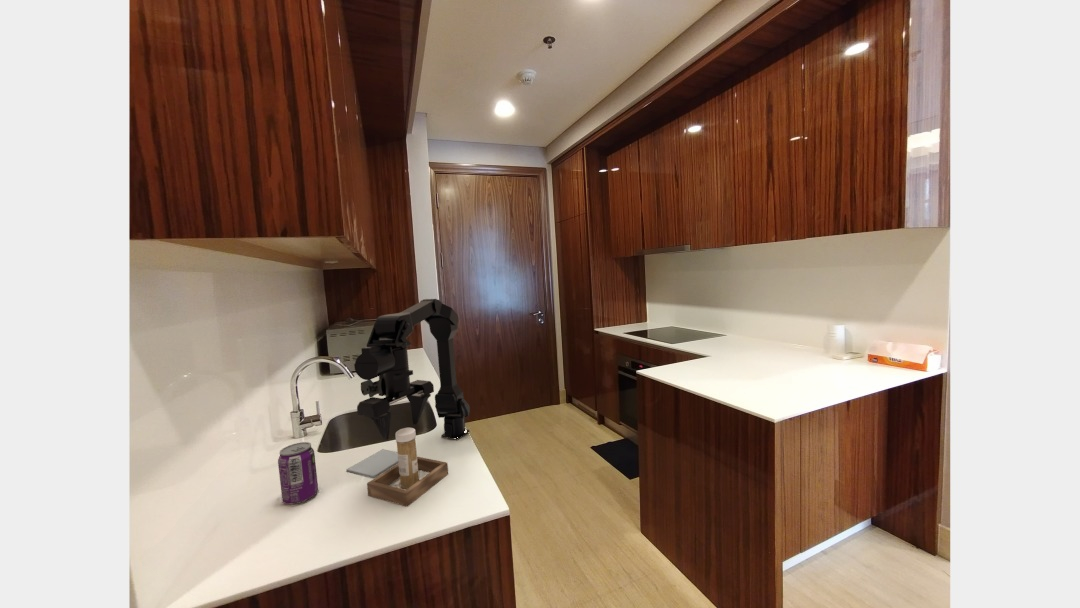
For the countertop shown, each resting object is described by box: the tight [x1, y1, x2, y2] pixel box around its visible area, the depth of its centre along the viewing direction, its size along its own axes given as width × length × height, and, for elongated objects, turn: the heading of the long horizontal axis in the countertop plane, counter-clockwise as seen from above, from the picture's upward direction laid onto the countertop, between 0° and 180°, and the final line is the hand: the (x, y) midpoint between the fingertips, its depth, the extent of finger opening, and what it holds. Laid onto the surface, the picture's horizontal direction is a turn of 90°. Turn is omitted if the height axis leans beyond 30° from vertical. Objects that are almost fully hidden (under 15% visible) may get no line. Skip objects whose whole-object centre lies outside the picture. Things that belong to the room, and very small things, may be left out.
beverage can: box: [277, 441, 319, 505], centre depth 86 cm, size 7×7×12 cm
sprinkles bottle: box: [395, 427, 420, 490], centre depth 89 cm, size 5×5×14 cm
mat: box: [346, 448, 398, 479], centre depth 101 cm, size 12×10×1 cm
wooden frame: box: [366, 456, 449, 507], centre depth 90 cm, size 14×12×3 cm
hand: (401, 431), depth 89 cm, fingers open, 9 cm apart
